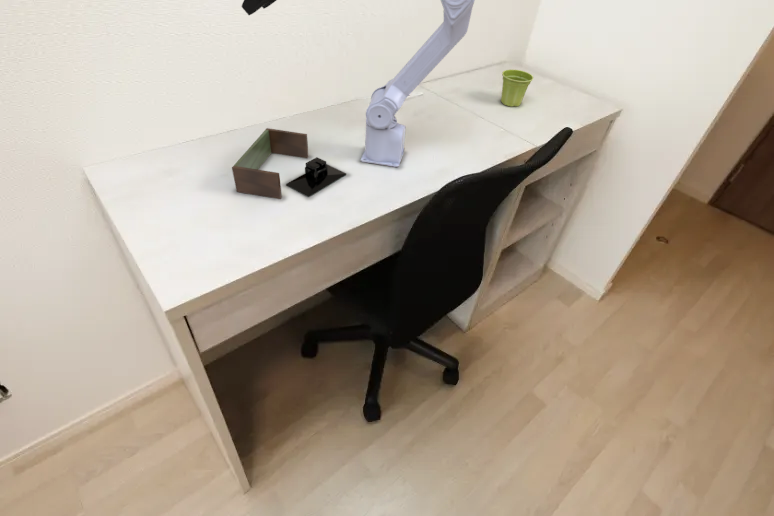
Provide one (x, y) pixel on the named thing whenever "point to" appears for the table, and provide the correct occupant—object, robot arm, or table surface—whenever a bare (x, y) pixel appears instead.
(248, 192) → the stall
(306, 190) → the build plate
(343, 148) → the table surface
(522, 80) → the plant pot
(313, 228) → the table surface
